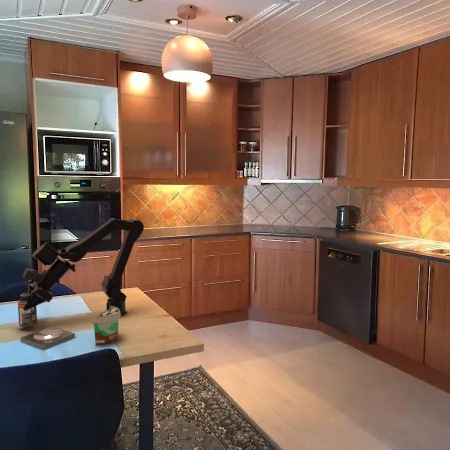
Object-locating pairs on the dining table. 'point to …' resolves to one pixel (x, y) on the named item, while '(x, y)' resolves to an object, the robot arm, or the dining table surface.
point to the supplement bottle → (26, 312)
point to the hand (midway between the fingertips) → (23, 307)
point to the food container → (106, 326)
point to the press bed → (47, 338)
